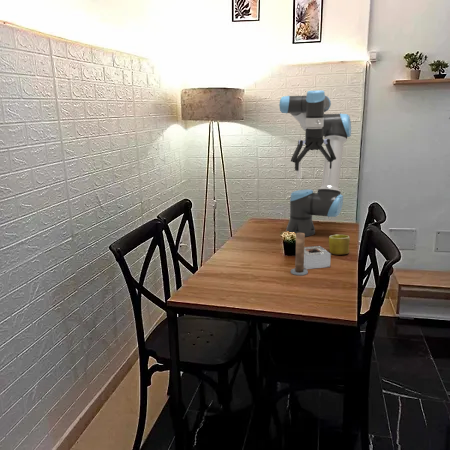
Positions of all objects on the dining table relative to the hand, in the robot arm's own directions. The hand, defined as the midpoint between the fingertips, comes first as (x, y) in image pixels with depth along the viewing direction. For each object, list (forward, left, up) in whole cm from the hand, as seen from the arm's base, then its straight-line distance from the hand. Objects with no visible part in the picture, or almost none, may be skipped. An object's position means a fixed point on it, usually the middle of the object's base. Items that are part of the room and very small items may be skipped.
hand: (312, 177), depth 193 cm
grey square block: (+13, -4, -36) cm, 38 cm away
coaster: (+21, -14, -36) cm, 44 cm away
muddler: (+21, -14, -35) cm, 43 cm away
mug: (+1, +14, -36) cm, 38 cm away
